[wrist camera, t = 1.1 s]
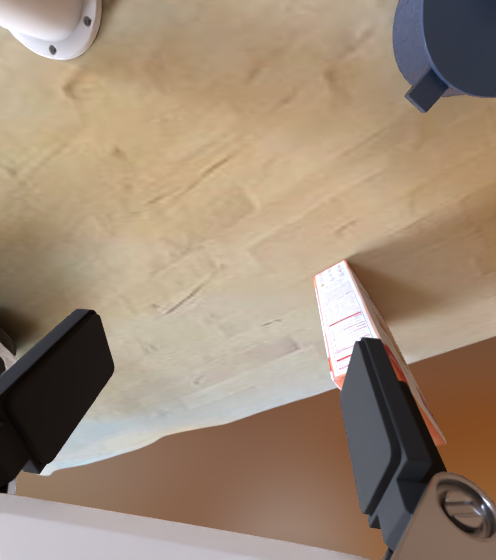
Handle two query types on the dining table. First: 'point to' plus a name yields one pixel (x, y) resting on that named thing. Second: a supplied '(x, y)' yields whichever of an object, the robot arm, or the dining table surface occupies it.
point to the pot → (416, 58)
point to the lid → (461, 43)
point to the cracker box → (360, 331)
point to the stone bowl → (6, 352)
